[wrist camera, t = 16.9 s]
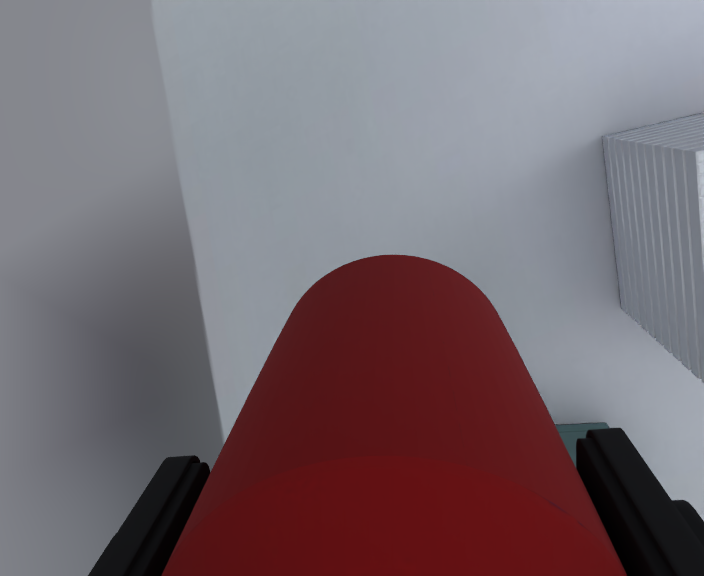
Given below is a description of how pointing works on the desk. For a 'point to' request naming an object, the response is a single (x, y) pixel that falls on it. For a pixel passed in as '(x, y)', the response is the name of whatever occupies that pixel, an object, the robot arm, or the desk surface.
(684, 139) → the stack of papers
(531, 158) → the desk surface
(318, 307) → the beverage can
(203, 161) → the desk surface
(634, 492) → the robot arm
